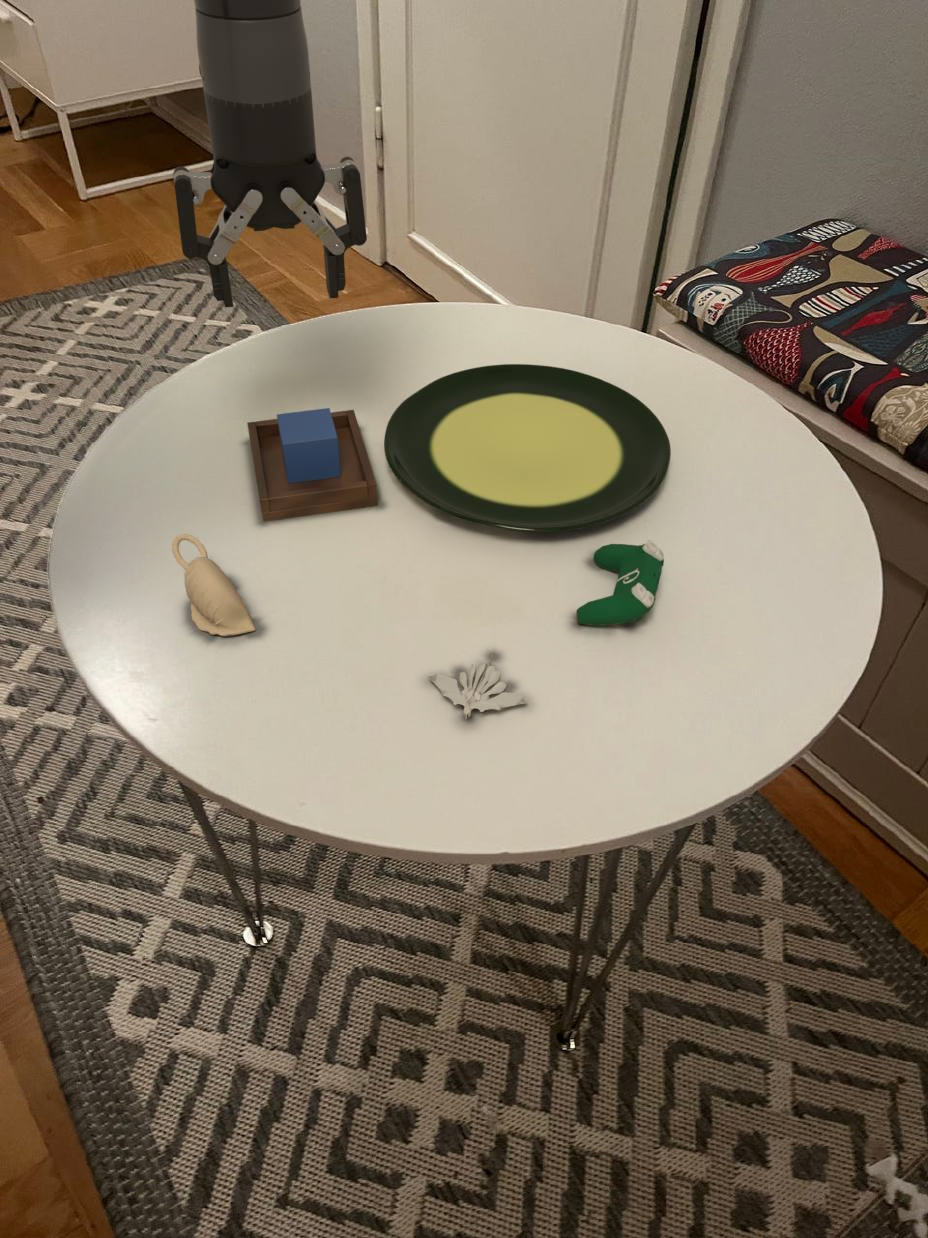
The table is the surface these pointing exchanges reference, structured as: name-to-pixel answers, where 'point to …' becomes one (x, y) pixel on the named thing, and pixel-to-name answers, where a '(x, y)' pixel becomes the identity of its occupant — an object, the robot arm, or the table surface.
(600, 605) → the green christmas stocking
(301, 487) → the tray
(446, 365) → the table surface
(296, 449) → the cube
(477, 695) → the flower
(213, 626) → the decorative ornament
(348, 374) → the table surface
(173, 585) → the table surface
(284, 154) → the robot arm
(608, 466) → the plate
